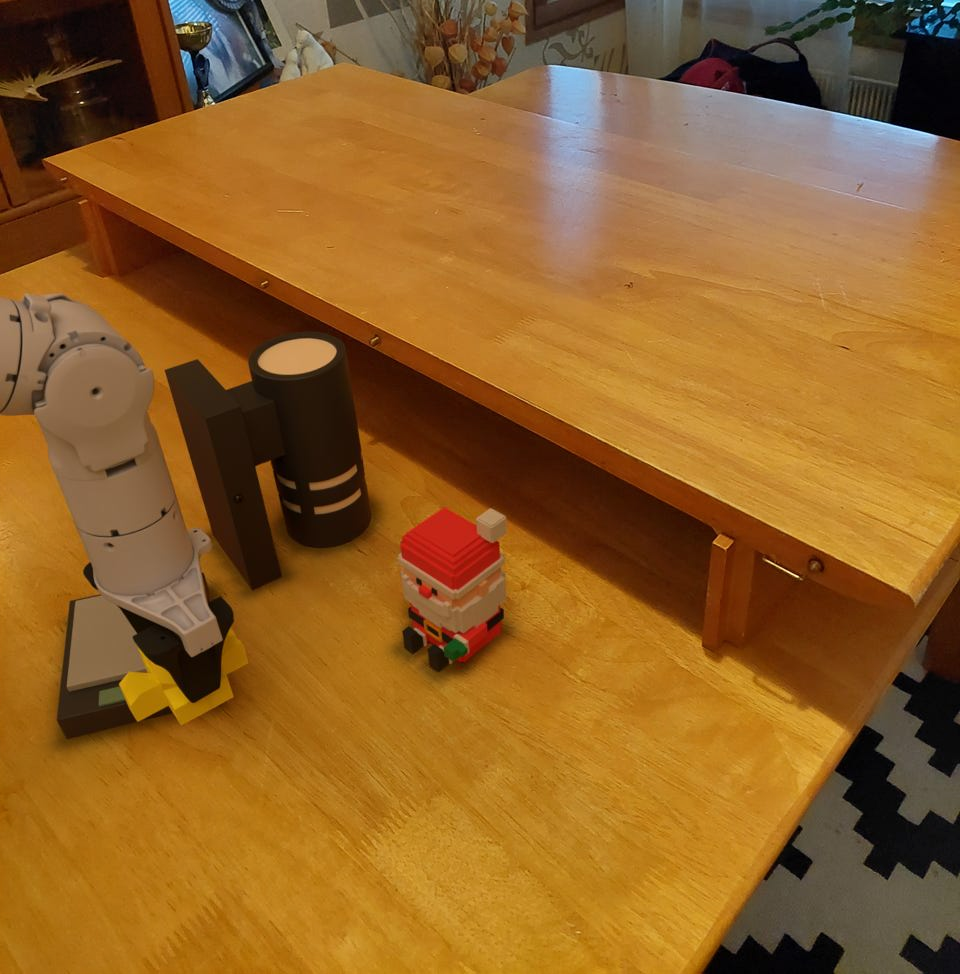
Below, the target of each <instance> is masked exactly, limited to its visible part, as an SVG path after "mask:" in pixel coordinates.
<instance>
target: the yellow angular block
mask: <svg viewBox="0 0 960 974" xmlns="http://www.w3.org/2000/svg"><path fill="white" fill-rule="evenodd" d="M138 650H139V652H140V655H141V657H142V660H143V662H144V665H145V667H146V670H147V672H148V673H142V672H132V671H129V672H128V674H127V675H126V676H125V677H124V678H123V680H122V681H121V682H120V683H119V686H120V688H121V690H122V693H123V695H124V697H125V700H126V702H127V704H128V707H129V708H130V710H131V712H132V714H133V715H134V717H135V719H136V720H137V722H136V723H138V722H139V723H140V722H142V721H143V720H142V719H144V718H146V717H148V716H150V715H152V714H154V713H156V712H157V711H159V710H161V709H163V708H165V707H167V706H169V707H170V709H171V711H172V712H173V713H172V714H173V716H175V718H176V720H177V722H178V723H179V725H180V726H183V725H186V724H187V723H189V722H191V721H192V720H194V719H197V718H198V717H200V716H202V715H203V714H206V713H207V712H209V711H210V710H212V709H214V708H216V707H218V706H220V705H222V704H223V703H225V702H227V701H229V700H231V699H233V698H234V697H235V696H234V693H233V690H232V687H231V684H230V681H229V678H228V674H231V673H233V672H235V671H236V670H238V669H240V668H242V667H243V666H245V665H247V664H249V658H248V657H247V653H246V649H245V646H244V643H243V641H241V640H239V639H238V637H237V635H236V633H235V632H234V630H233V628H232V627H231V628H230V630H229V632H228V634H227V636H226V639H225V642H224V645H223V650H222V662H221V684H220V688H219V689H217V690H216V691H214V692H212V693H211V694H209V695H207V696H206V697H204V698H202V699H200V700H199V701H197V702H195V703H191V702H190V701H189V700H188V699H187V698H186V696H185V695H184V694H183V693H182V691H181V690H180V689H179V687H178V686H177V684H176V683H175V681H174V680H173V678H172V677H171V675H170V673H169V672H168V671H167V670H165V669H164V668H162V667H160V666H158V665H155V664H154V663H153V662H152V661H150V660H149V659H148V658H147V657H146V656H145V655H144V654H143V652H142V651H141V650H140V649H139V647H138ZM141 720H142V721H141Z"/></svg>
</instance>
